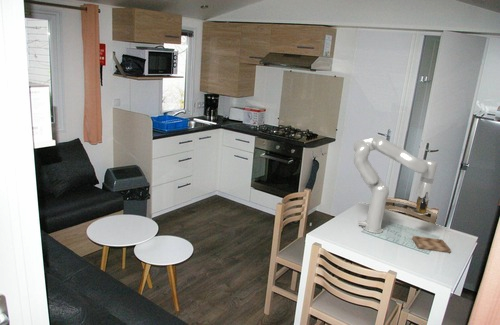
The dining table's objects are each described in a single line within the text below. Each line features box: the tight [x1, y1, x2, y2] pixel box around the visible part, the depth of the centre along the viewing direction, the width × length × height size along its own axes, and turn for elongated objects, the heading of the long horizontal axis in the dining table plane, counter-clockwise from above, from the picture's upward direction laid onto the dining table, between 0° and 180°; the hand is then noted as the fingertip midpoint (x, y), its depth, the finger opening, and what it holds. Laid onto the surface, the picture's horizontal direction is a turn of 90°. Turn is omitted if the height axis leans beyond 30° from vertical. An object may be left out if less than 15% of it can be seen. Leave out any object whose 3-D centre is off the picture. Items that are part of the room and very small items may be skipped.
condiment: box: [410, 197, 430, 216], centre depth 247 cm, size 7×8×12 cm
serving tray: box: [411, 235, 451, 254], centre depth 238 cm, size 18×13×2 cm
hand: (420, 206), depth 248 cm, fingers closed on condiment, 6 cm apart
